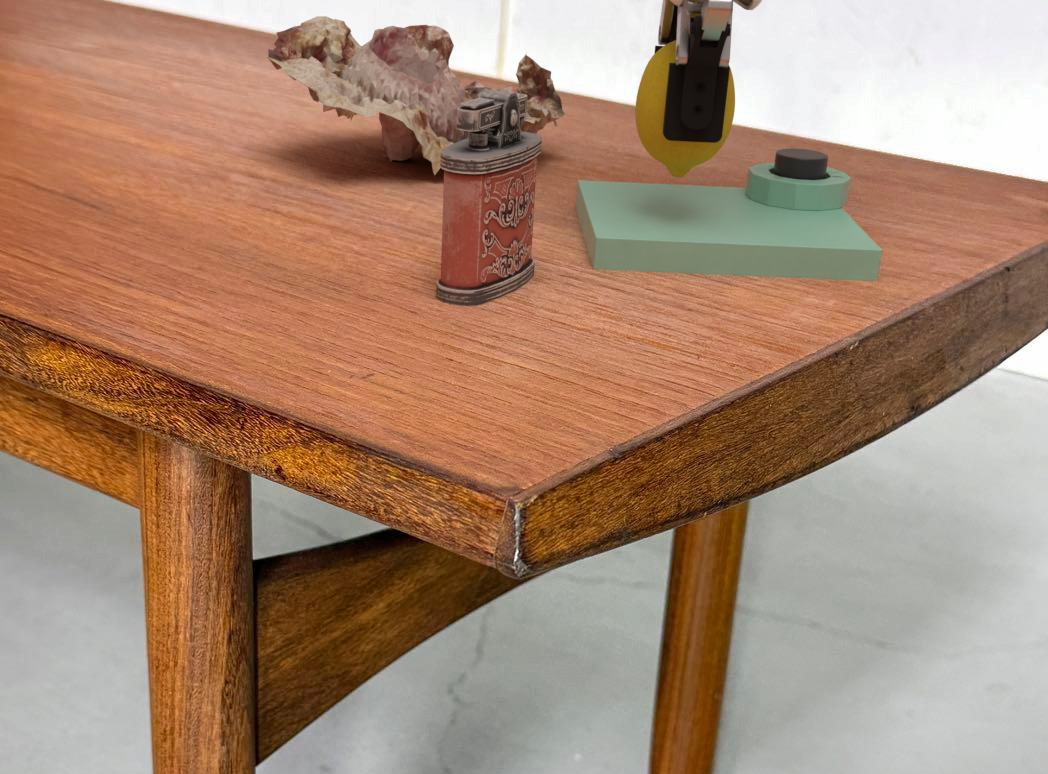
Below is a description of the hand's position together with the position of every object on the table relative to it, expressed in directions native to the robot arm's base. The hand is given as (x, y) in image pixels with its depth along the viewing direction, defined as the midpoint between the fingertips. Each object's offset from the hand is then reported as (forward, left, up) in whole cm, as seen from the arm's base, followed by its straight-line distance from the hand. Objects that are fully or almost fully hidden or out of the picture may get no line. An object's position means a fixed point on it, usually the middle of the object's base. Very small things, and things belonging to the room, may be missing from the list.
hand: (684, 125), depth 84 cm
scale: (-3, -2, -7) cm, 8 cm away
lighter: (+11, +9, -7) cm, 16 cm away
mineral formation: (+15, -21, -7) cm, 27 cm away
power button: (-9, -7, -4) cm, 11 cm away
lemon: (0, 0, -3) cm, 3 cm away
